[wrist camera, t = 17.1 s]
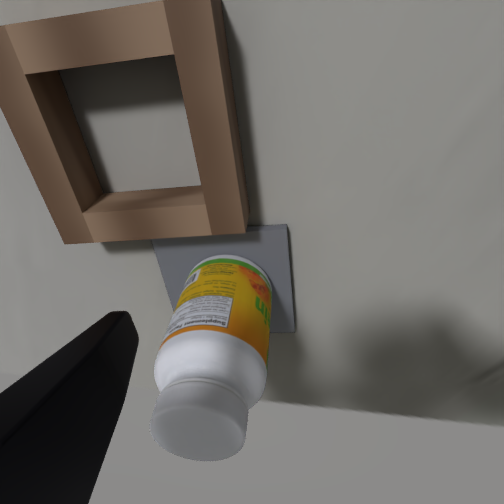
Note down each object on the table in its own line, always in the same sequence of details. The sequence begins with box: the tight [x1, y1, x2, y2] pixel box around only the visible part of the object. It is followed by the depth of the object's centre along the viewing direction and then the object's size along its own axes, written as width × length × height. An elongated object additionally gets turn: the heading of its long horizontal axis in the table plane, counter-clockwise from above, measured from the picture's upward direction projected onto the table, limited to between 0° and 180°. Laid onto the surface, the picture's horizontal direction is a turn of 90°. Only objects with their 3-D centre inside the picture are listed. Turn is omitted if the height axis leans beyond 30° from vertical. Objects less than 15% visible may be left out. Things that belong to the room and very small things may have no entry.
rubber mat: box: [151, 224, 295, 333], centre depth 23 cm, size 8×8×1 cm
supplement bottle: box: [150, 255, 272, 461], centre depth 19 cm, size 5×5×10 cm
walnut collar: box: [0, 0, 250, 244], centre depth 17 cm, size 10×10×2 cm
